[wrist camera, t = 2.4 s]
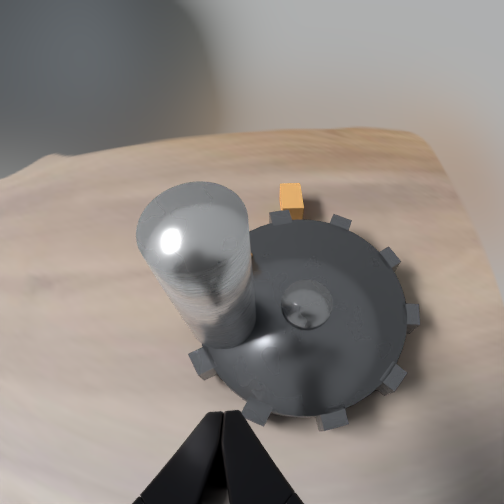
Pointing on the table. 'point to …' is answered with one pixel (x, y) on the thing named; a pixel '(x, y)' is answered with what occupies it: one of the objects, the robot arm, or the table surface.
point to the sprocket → (279, 303)
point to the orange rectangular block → (292, 200)
